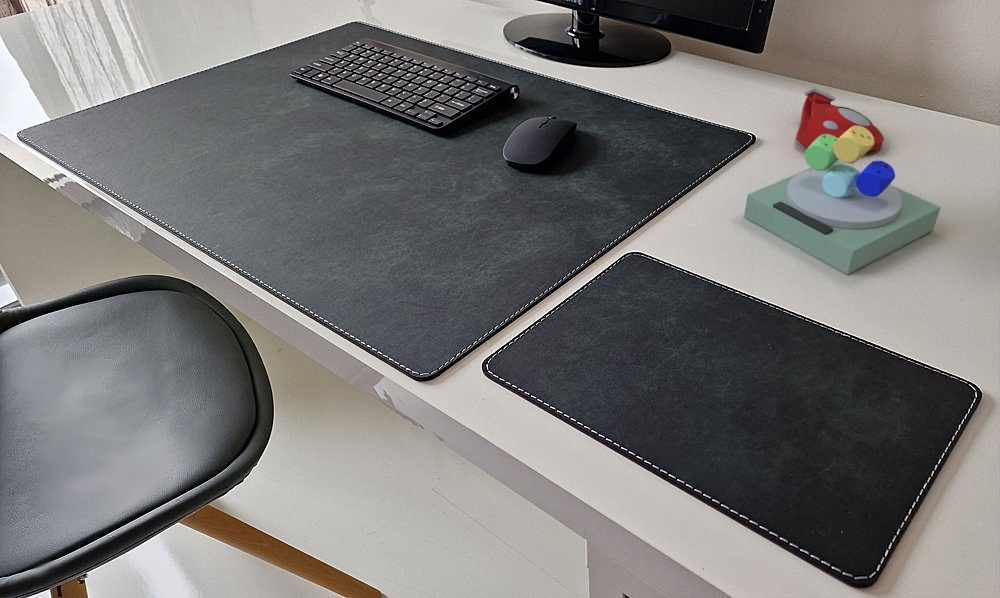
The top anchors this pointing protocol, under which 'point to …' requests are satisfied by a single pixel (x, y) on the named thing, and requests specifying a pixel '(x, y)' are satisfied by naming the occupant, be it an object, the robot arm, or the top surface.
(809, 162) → the dice
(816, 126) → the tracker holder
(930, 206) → the scale
